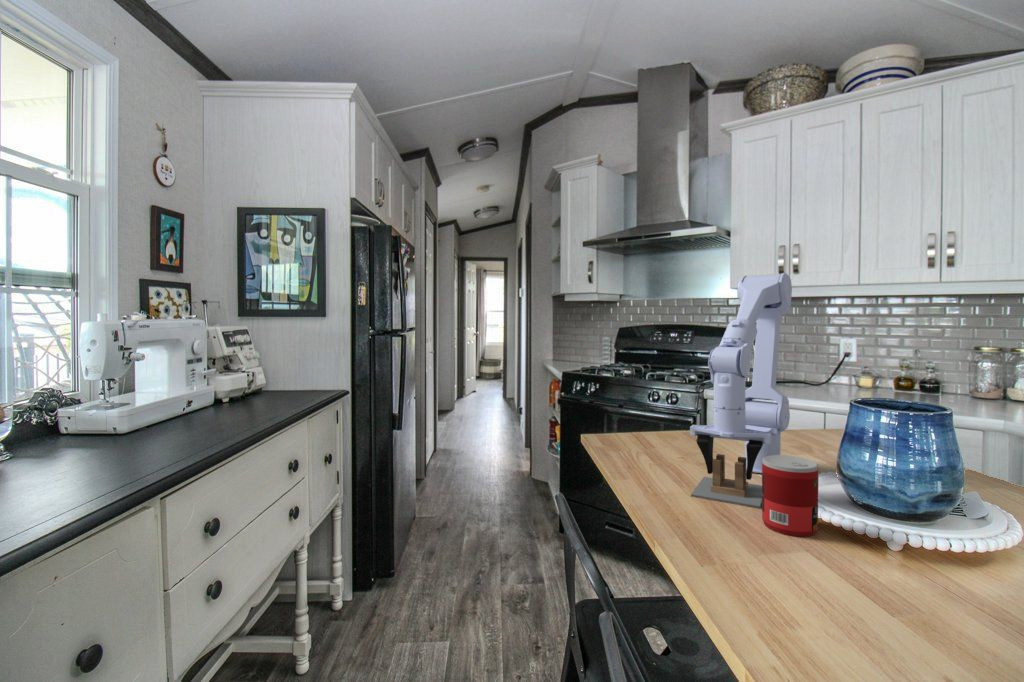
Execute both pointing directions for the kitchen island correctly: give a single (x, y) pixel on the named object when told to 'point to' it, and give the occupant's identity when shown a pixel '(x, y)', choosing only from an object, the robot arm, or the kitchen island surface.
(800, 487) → the canned food
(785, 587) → the kitchen island surface
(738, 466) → the stool
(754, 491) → the mat
